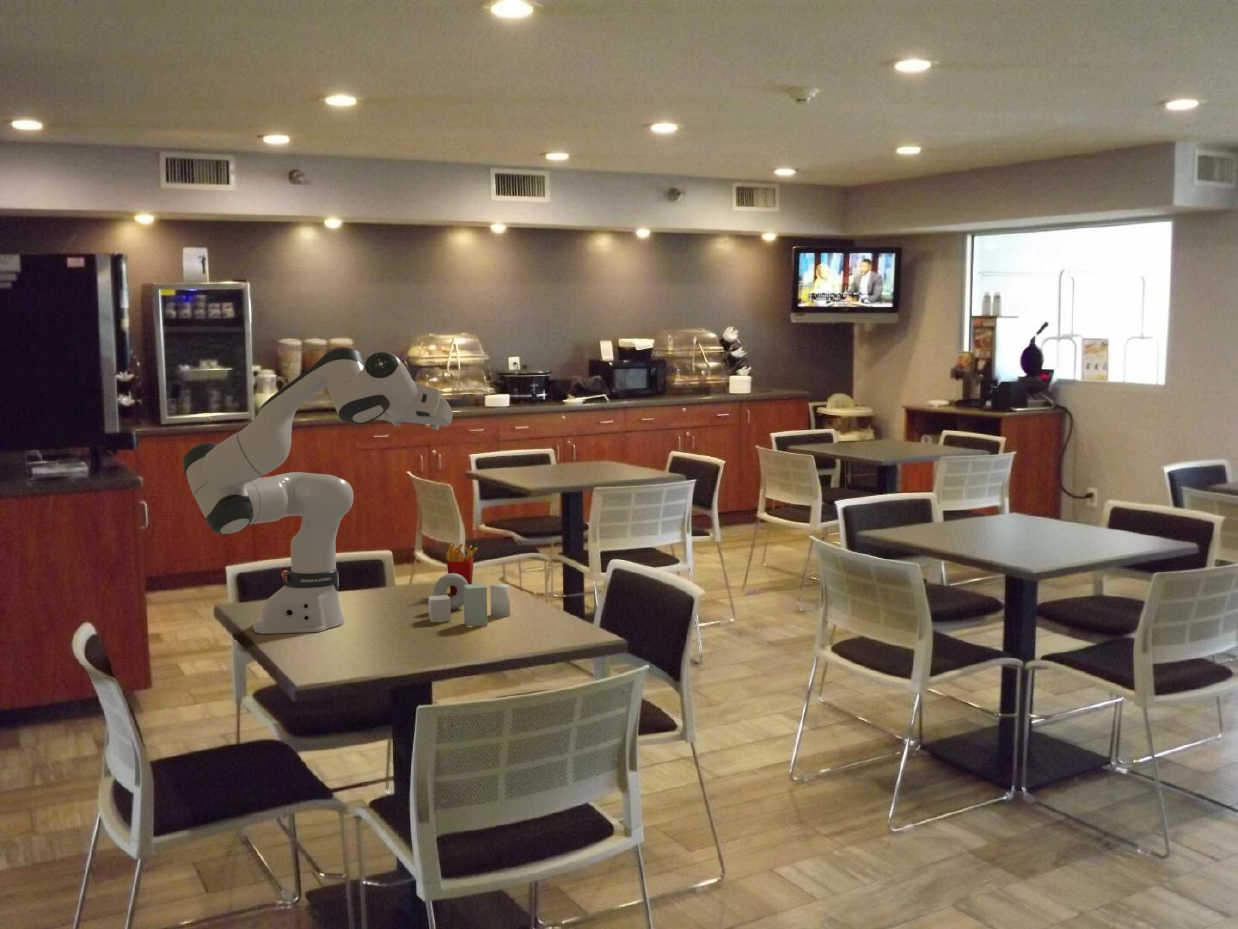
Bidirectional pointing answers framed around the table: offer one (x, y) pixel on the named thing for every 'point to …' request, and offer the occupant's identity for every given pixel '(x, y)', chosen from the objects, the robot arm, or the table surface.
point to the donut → (449, 581)
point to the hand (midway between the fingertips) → (417, 425)
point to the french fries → (460, 563)
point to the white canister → (500, 600)
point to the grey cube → (439, 608)
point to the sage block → (475, 605)
